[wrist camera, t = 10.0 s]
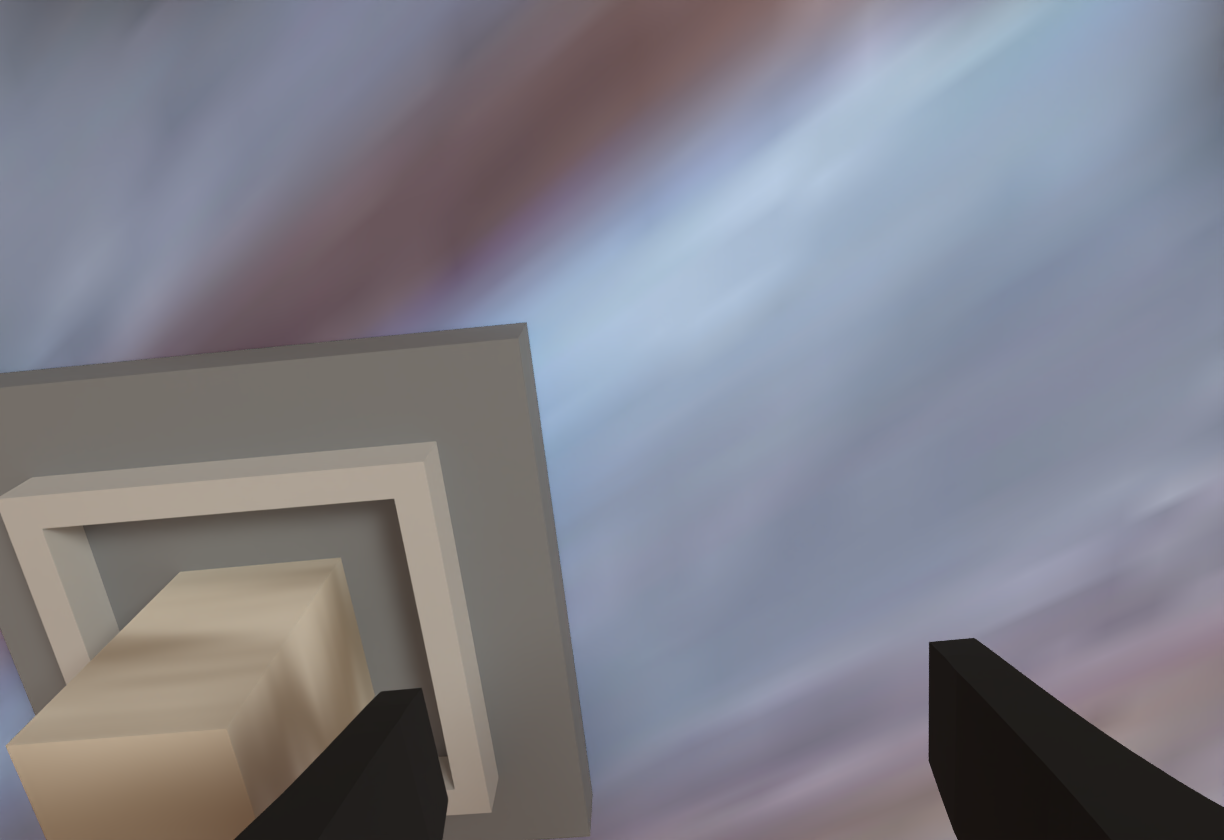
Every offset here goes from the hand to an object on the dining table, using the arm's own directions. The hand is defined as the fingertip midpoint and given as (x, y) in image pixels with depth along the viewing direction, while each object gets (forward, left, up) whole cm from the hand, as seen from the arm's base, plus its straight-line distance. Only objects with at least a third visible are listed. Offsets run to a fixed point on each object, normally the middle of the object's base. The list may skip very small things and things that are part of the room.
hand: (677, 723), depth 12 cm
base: (-3, +10, -9) cm, 14 cm away
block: (-3, +10, -8) cm, 13 cm away
